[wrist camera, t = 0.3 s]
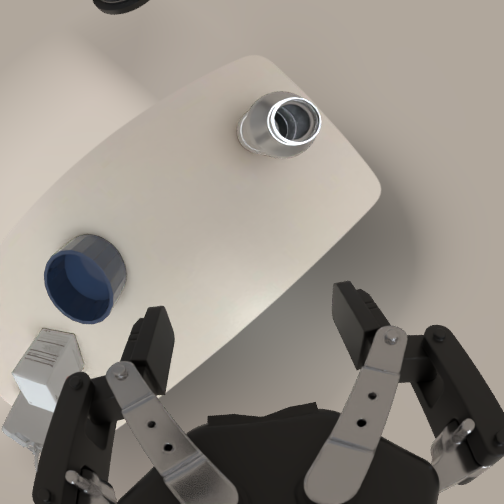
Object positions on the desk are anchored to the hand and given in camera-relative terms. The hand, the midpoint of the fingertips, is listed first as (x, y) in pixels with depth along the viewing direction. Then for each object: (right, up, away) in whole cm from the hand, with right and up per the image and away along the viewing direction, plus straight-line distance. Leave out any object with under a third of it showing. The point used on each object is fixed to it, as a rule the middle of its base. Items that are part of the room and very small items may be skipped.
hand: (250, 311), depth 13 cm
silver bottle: (+1, +20, +24) cm, 31 cm away
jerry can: (-59, -40, +41) cm, 82 cm away
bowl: (-26, 0, +29) cm, 39 cm away
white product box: (-40, -17, +34) cm, 55 cm away
